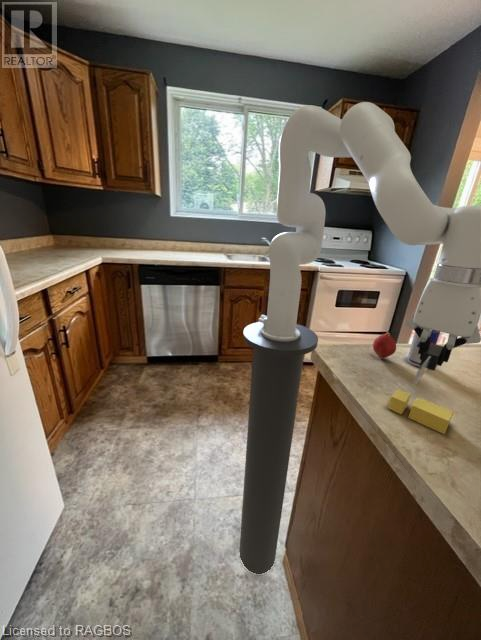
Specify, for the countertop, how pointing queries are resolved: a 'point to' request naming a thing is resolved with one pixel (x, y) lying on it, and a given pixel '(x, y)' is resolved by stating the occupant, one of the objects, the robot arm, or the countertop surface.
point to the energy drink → (413, 353)
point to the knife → (429, 360)
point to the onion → (384, 345)
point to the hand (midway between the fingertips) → (431, 360)
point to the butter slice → (399, 401)
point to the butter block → (430, 415)
